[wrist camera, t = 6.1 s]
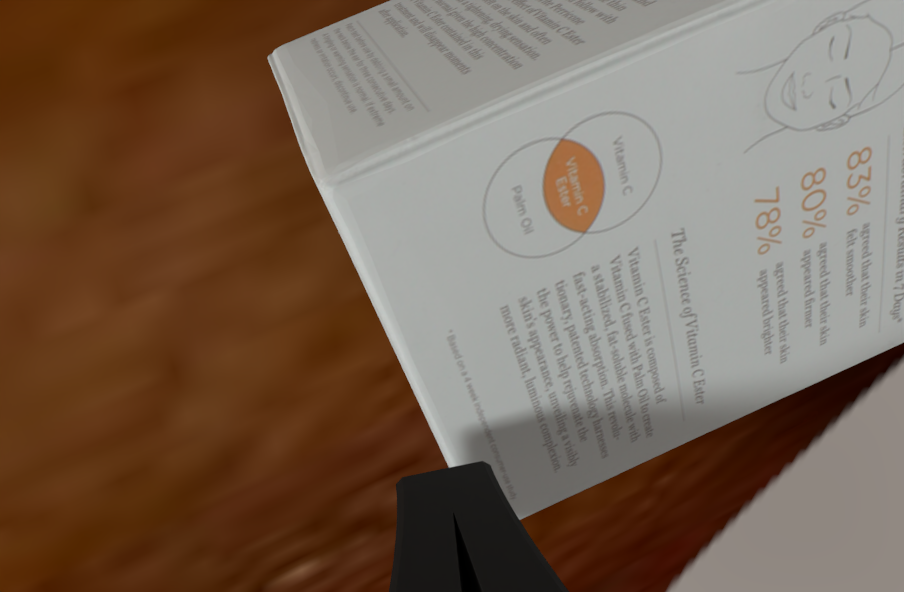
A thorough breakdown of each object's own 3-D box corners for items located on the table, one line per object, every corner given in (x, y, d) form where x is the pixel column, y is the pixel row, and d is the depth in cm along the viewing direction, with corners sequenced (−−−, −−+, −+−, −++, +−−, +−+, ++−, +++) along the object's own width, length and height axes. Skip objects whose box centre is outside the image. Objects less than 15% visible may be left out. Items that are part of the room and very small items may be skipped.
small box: (398, 349, 20) (864, 146, 21) (478, 549, 15) (1091, 270, 16) (260, 40, 15) (873, -207, 16) (308, 179, 10) (1204, -193, 11)
